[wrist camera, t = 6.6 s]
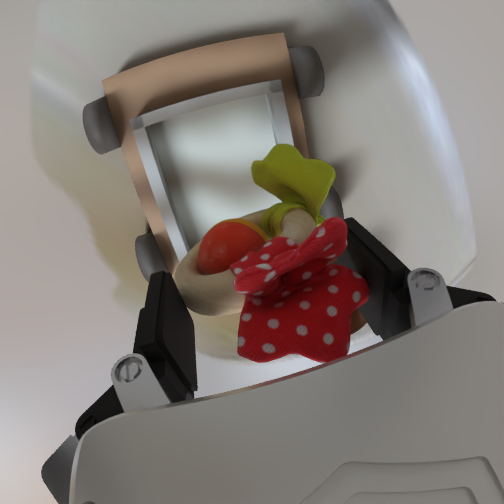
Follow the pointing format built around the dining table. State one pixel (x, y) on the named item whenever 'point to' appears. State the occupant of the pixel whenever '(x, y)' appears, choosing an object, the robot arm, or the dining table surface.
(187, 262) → the bird rattle
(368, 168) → the dining table surface
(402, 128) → the dining table surface
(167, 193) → the chassis
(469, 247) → the dining table surface
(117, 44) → the dining table surface
